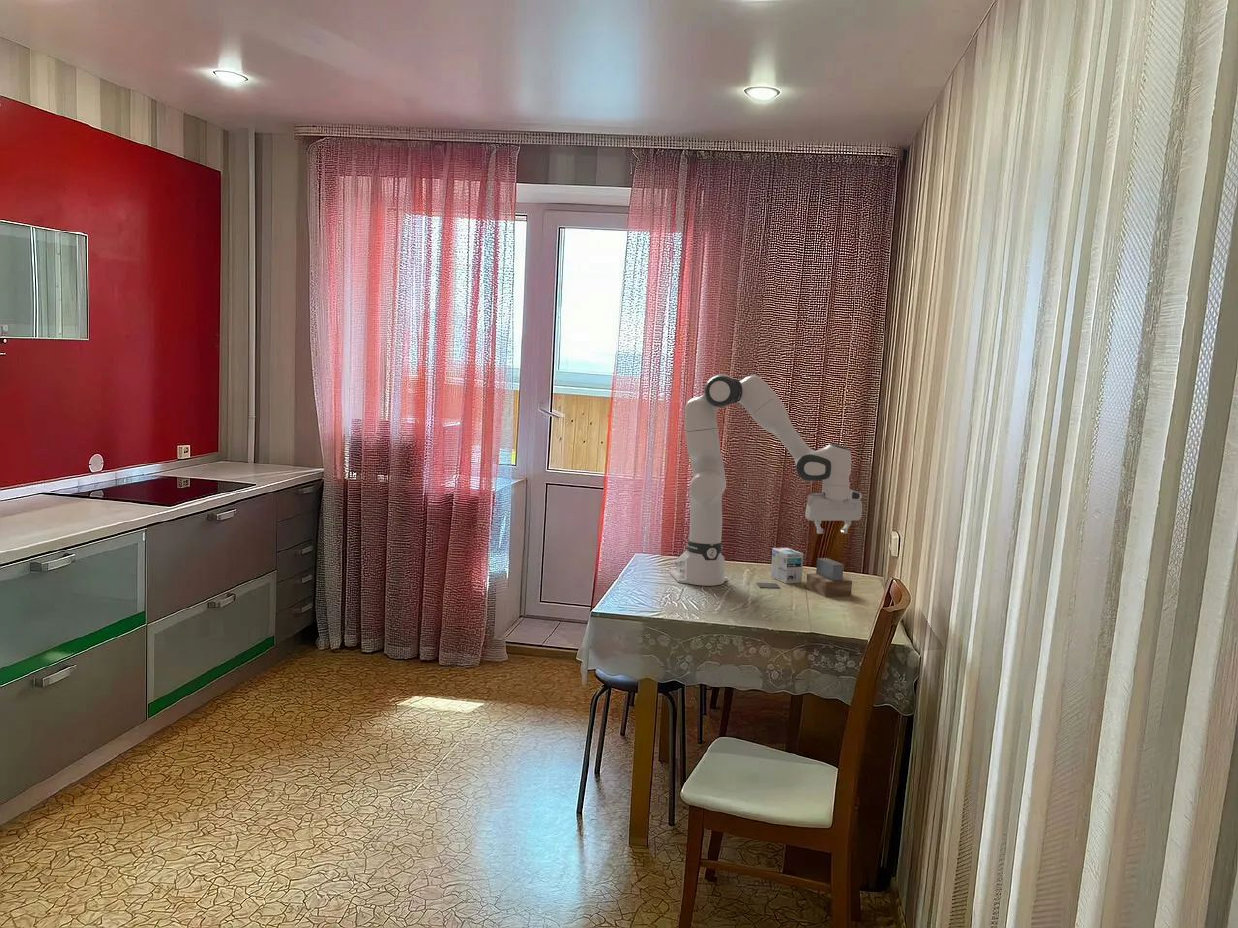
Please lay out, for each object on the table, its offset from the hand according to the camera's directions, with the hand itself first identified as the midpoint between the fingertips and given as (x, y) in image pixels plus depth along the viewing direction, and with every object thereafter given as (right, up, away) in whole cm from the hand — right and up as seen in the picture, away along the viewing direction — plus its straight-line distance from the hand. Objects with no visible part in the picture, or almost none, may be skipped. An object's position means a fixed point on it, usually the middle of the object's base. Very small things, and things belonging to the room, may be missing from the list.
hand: (831, 533), depth 313 cm
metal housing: (-1, -15, +2) cm, 15 cm away
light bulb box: (-12, -18, +17) cm, 28 cm away
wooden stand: (-1, -20, +2) cm, 20 cm away
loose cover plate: (-20, -19, +7) cm, 29 cm away
